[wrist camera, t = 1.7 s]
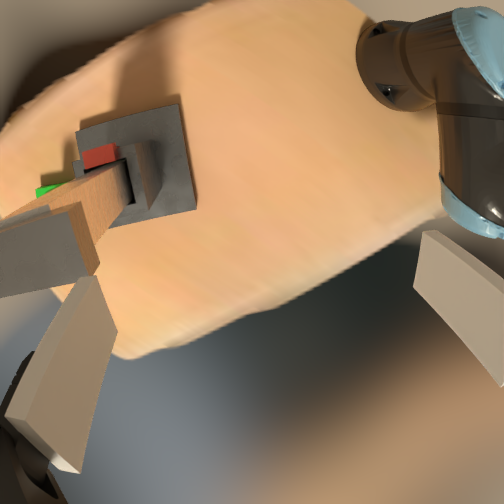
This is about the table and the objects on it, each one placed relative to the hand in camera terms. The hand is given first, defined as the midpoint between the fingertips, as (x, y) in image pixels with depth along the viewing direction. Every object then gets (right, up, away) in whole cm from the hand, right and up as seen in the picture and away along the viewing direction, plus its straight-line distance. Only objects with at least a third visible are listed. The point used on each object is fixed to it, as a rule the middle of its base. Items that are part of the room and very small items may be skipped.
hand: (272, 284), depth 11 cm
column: (-16, +12, +24) cm, 31 cm away
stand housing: (-16, +12, +26) cm, 33 cm away
